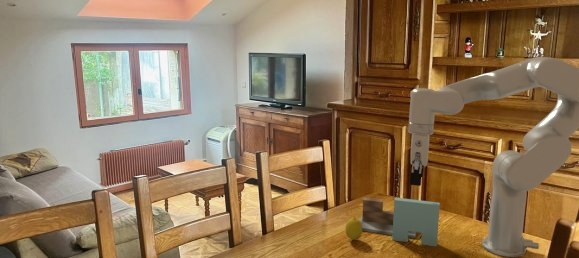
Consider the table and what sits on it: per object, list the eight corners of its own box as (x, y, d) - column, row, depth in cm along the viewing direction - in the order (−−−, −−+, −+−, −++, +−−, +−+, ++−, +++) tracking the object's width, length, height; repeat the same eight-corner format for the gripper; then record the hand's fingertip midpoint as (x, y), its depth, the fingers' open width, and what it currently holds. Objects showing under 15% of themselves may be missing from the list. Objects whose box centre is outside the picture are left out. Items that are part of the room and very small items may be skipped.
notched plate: (437, 243, 141) (439, 202, 138) (436, 246, 139) (439, 205, 136) (393, 236, 146) (395, 197, 143) (392, 239, 143) (394, 199, 141)
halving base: (418, 221, 158) (419, 198, 156) (415, 238, 144) (416, 213, 143) (363, 214, 165) (364, 191, 163) (355, 229, 151) (356, 205, 149)
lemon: (356, 235, 146) (357, 213, 145) (365, 242, 141) (365, 219, 140) (342, 238, 145) (342, 215, 143) (350, 245, 139) (350, 222, 138)
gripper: (432, 134, 126) (427, 190, 129) (434, 124, 142) (430, 174, 145) (405, 132, 128) (401, 187, 131) (410, 122, 144) (407, 172, 147)
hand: (416, 180), depth 138 cm, fingers open, 9 cm apart
